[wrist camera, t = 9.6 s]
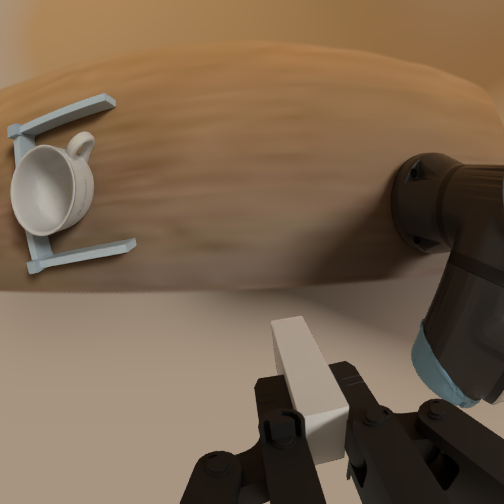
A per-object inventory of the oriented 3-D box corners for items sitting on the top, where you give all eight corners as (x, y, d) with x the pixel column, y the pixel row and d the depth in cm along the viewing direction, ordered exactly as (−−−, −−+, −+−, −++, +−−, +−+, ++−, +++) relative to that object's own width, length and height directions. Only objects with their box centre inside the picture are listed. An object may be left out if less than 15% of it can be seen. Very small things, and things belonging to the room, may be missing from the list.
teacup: (64, 240, 38) (34, 253, 30) (29, 181, 35) (-3, 184, 27) (134, 180, 37) (112, 180, 29) (95, 118, 34) (68, 106, 26)
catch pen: (115, 98, 34) (101, 88, 29) (137, 247, 39) (125, 257, 34) (27, 130, 33) (7, 127, 28) (47, 264, 38) (29, 274, 33)
